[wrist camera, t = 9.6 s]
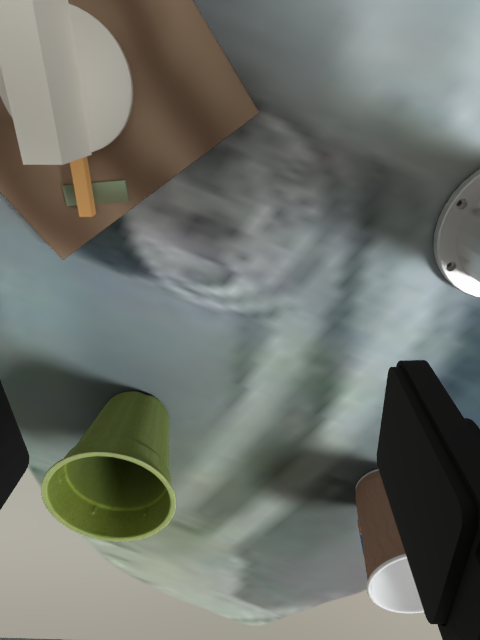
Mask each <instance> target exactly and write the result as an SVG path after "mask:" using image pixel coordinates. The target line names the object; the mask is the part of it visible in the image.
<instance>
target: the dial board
mask: <svg viewBox="0 0 480 640" xmlns="http://www.w3.org/2000/svg"><path fill="white" fill-rule="evenodd" d="M68 3H69V4H71V5H74V6H76V7H78V8H80V9H82V10H84V11H85V12H87V13H89V14H91V15H92V16H94V17H95V18H96V19H98V20H99V21H100V22H101V23H102V24H103V25H104V26H105V27H106V28H108V30H109V31H110V32H111V33H112V34H113V36H114V37H115V38H116V40H117V41H118V43H119V44H120V46H121V48H122V50H123V52H124V54H125V56H126V58H127V61H128V63H129V67H130V70H131V74H132V80H133V92H134V95H133V105H132V110H131V114H130V117H129V120H128V122H127V124H126V126H125V128H124V129H123V131H122V132H121V134H120V135H119V136H118V137H117V138H116V139H115V140H114V141H113V142H112V143H110V144H109V145H107V146H106V147H104V148H102V149H99V150H97V151H94V152H91V153H92V155H90V156H87V159H88V165H89V171H90V178H91V184H92V190H93V197H94V203H95V209H96V214H95V215H94V216H93V217H79V212H78V206H77V201H76V195H75V190H74V184H73V178H72V173H71V167H70V162H69V163H66V164H64V165H23V162H22V157H21V153H20V149H19V144H18V140H17V135H16V131H15V127H14V122H13V118H12V117H11V115H10V114H9V112H8V111H7V109H6V107H5V105H4V103H3V101H2V98H1V96H0V193H1V194H2V195H3V196H4V197H5V198H6V199H7V200H8V201H9V202H10V203H11V204H12V205H13V207H14V208H15V209H16V210H17V211H18V212H19V213H20V214H21V215H22V216H23V217H24V218H25V220H26V221H27V222H28V223H29V224H30V225H31V226H32V227H33V228H34V229H35V230H36V231H37V233H38V234H39V235H40V236H41V237H42V238H43V239H44V240H45V241H46V242H47V243H48V244H49V246H50V247H51V248H52V249H53V250H54V251H55V252H56V253H57V254H58V255H59V256H60V257H61V258H62V260H64V259H65V258H67V257H68V256H69V255H71V254H72V253H73V252H75V251H76V250H77V249H79V248H80V247H81V246H83V245H84V244H85V243H87V242H88V241H89V240H91V239H92V238H93V237H94V236H96V235H97V234H98V233H100V232H101V231H102V230H104V229H105V228H106V227H108V226H109V225H110V224H112V223H113V222H114V221H116V220H117V219H118V218H120V217H121V216H122V215H124V214H125V213H126V212H128V211H129V210H130V209H132V208H133V207H134V206H136V205H137V204H138V203H140V202H141V201H142V200H144V199H145V198H146V197H148V196H149V195H150V194H152V193H153V192H154V191H156V190H157V189H158V188H160V187H161V186H162V185H164V184H165V183H166V182H168V181H169V180H170V179H172V178H173V177H174V176H176V175H177V174H178V173H180V172H181V171H182V170H184V169H185V168H186V167H188V166H189V165H190V164H192V163H193V162H194V161H196V160H197V159H198V158H200V157H201V156H202V155H204V154H205V153H206V152H208V151H209V150H210V149H212V148H213V147H214V146H216V145H217V144H218V143H220V142H221V141H222V140H224V139H225V138H226V137H228V136H229V135H230V134H232V133H233V132H234V131H236V130H237V129H238V128H240V127H241V126H242V125H244V124H245V123H246V122H247V121H249V120H250V119H251V118H253V117H254V116H255V115H257V114H258V113H259V112H258V110H257V108H256V106H255V105H254V103H253V101H252V100H251V98H250V96H249V95H248V93H247V91H246V89H245V88H244V86H243V84H242V83H241V81H240V79H239V78H238V76H237V74H236V73H235V71H234V69H233V67H232V66H231V64H230V62H229V61H228V59H227V57H226V56H225V54H224V52H223V50H222V49H221V47H220V45H219V44H218V42H217V40H216V39H215V37H214V35H213V33H212V32H211V30H210V28H209V27H208V25H207V23H206V22H205V20H204V18H203V17H202V15H201V13H200V11H199V10H198V8H197V6H196V5H195V3H194V1H193V0H68Z"/></svg>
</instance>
